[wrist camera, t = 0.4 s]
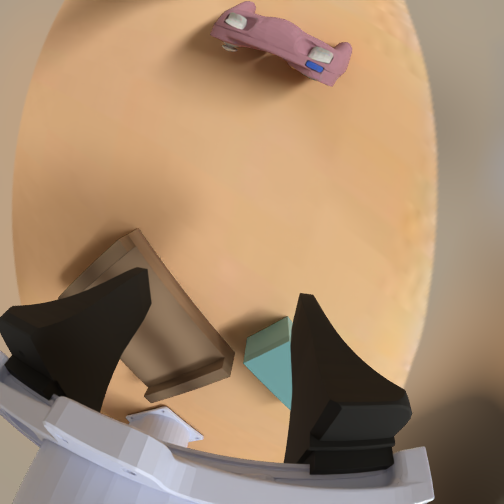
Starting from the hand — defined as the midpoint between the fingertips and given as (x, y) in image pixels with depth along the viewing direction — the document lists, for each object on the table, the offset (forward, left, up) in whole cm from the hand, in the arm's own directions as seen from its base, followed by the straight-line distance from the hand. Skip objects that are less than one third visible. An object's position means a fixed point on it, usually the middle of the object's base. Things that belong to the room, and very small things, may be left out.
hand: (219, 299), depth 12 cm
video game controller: (+11, +11, -11) cm, 19 cm away
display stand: (-13, -2, -10) cm, 16 cm away
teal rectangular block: (-3, -14, -11) cm, 18 cm away
